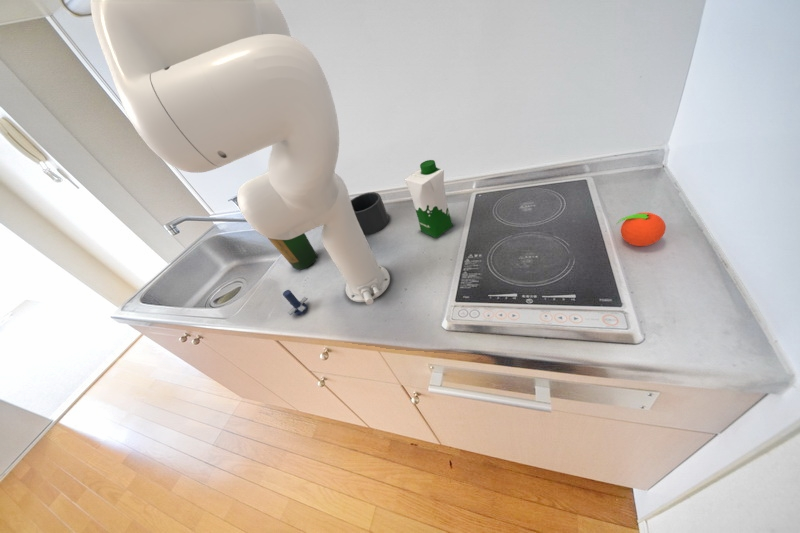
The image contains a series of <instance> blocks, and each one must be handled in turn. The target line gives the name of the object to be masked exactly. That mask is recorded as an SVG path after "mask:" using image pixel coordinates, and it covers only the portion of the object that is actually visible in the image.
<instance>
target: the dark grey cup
mask: <svg viewBox="0 0 800 533" xmlns="http://www.w3.org/2000/svg"><path fill="white" fill-rule="evenodd" d="M350 200H351V204H352V207H353V210H354V213H355V215H356V218H357V220H358V222H359V225H360V227H361V229H362V231H363V233H364V235H365V236H370V235H374V234H376V233H378V232H380V231H382V230H383V229H384V228H385V227H386V226H387V225H388V223H389V222H390V221H389V220H390V219H389V215H388V212H387V209H386V206H385V205H384V201H383V199H382V196H381V195H380V193H378V192H374V191H373V192H371V191H370V192H366V193H362V194H359V195H357V196H355V197H354V198H352V199H350Z"/></svg>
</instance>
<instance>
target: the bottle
mask: <svg viewBox="0 0 800 533" xmlns="http://www.w3.org/2000/svg"><path fill="white" fill-rule="evenodd" d="M267 239H268V241H270V243H271V244H272V245H273V246H274V247H275V249H276V250H277V251H278V252H279V253H280V254H281V255H282V257H283V258H284V259H285V260H286V261H287V262H288V263H289V264H290V265H291V267H292V268H293V269H295V270H298V271H299V270H304V269H306V268H309V267H310V266H311V265H312V264H313V263H315V262H316V260H317V258H318V255H317V253H316V251H315V248H314V247H313V246H312V244H311V242H310V240H309V238H308V237H307V235H306V234H305V233H303V234H301V235H299V236H297V237H295V238H292V239H289V240H278V239H270V238H267Z"/></svg>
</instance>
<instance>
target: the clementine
mask: <svg viewBox="0 0 800 533" xmlns="http://www.w3.org/2000/svg"><path fill="white" fill-rule="evenodd" d="M622 221H623V222H622ZM620 222H622V224H621V226H620V235H621V238H622V239H623V240H624V241H625V242H626V243H628V244H630V245H632V246H636V247H647V246H650V245H653V244H656V243H657V242H658V241H660V240H661V239H662V237H663V236H664V235H665V234H666V222H665V221H664V220H663V219H662V217H661V216H660V215H657V214H656V213H652V212H638V213H634V214H632V215H628V216H627V215H626V216H625V217H623V218H621V219H620V220H618V221H617V224H619V223H620Z"/></svg>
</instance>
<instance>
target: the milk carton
mask: <svg viewBox="0 0 800 533" xmlns="http://www.w3.org/2000/svg"><path fill="white" fill-rule="evenodd" d="M419 167H420V168H419V169H418V170H416V171H414V172H412V173H411V174H410V175H409V176H407V177H406V178H404V181H405V184H406V186H407V189H408V192H409V193H410V194H409V195H410V196H411V199H412V203H413V206H414V209H415V213H416V217H417V220H418V224H419V228H420V232H422V233H424V234H426V235H427V236H430V237H432V238H434V239H438V238H440V236H442V235H443V234H444V233H445V232H446V231H448V230H449V229H450V228H452V227H453V220H452V217H451V214H450V210H449V205H448V200H447V195H446V189H445V169H441V168H439V167H437V164H436V162H435V160H434V159H427V160H425V161H423V162H421V163H420V164H419Z"/></svg>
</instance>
